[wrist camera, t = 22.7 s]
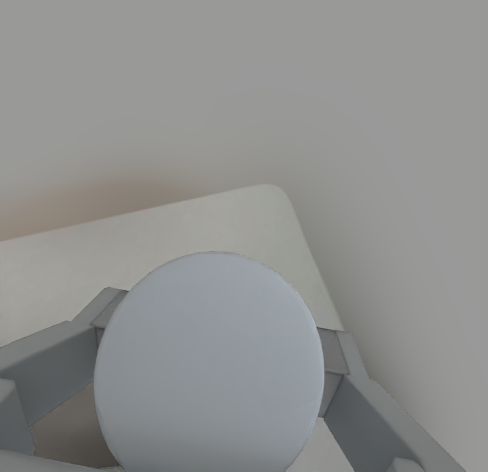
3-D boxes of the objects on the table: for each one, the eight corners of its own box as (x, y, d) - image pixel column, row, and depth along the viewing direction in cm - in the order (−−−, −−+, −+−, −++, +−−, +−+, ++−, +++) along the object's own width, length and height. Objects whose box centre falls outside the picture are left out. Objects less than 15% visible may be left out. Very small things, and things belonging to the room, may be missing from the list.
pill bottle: (230, 271, 14) (228, 186, 6) (295, 345, 12) (403, 367, 5) (153, 336, 12) (14, 342, 4) (218, 425, 11) (183, 643, 3)
